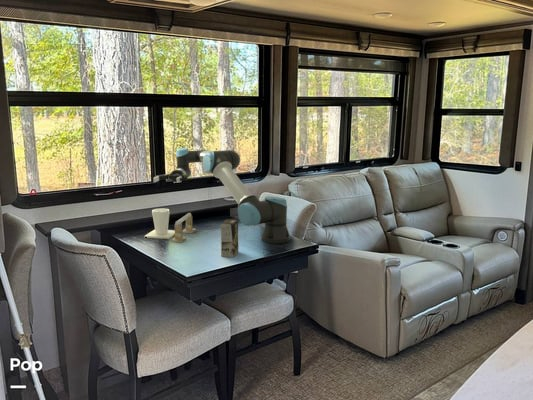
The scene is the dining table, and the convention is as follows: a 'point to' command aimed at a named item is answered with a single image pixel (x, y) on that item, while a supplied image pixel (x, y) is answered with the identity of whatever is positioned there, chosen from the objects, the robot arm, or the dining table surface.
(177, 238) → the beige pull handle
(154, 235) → the cream pad
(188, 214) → the steel bar
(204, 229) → the dining table surface
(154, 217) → the foam cup
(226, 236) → the coffee box
